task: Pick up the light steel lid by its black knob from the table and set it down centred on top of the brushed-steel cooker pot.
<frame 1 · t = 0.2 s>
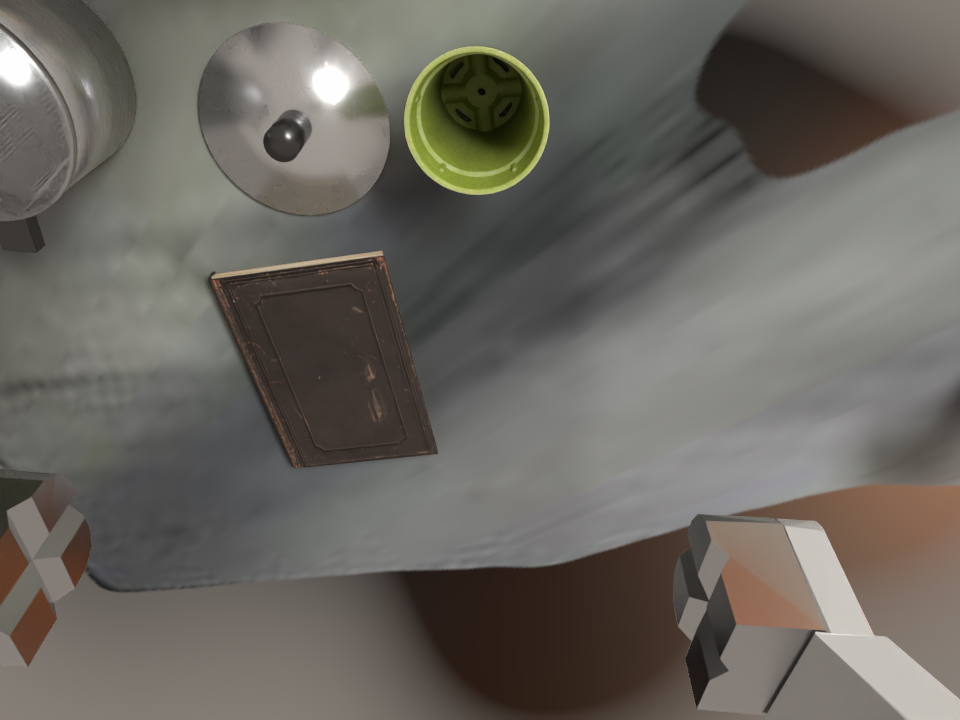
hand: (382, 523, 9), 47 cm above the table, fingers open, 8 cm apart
hardcover book: (336, 359, 68), on the table
cooker: (40, 75, 52), on the table
lid: (297, 123, 54), on the table
plant pot: (480, 87, 52), on the table
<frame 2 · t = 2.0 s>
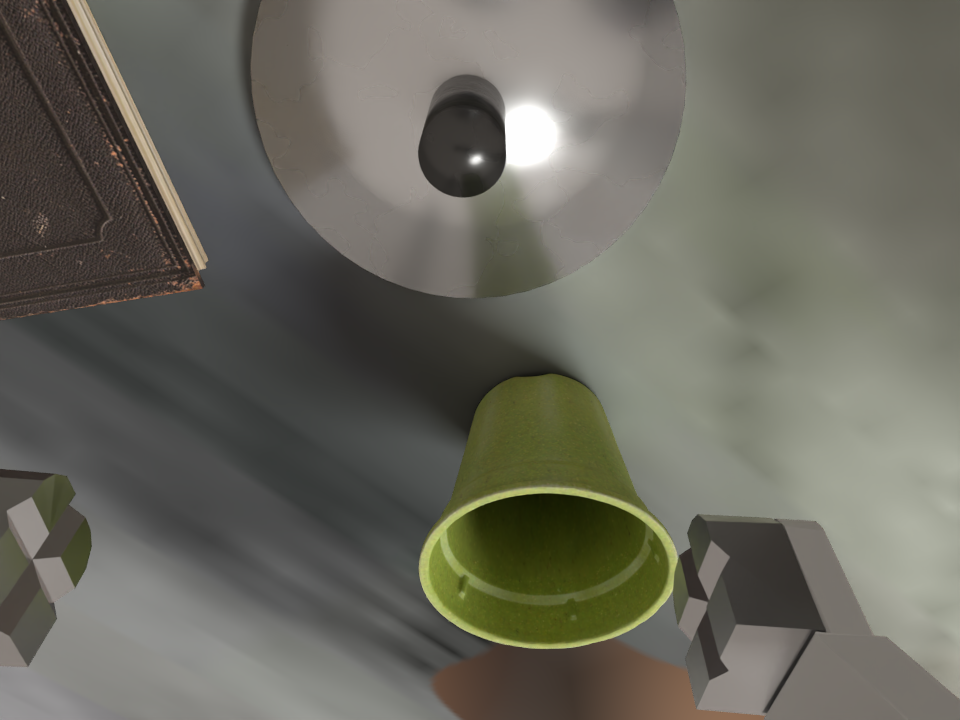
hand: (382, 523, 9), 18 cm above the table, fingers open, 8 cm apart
lid: (468, 107, 24), on the table
plant pot: (539, 418, 33), on the table
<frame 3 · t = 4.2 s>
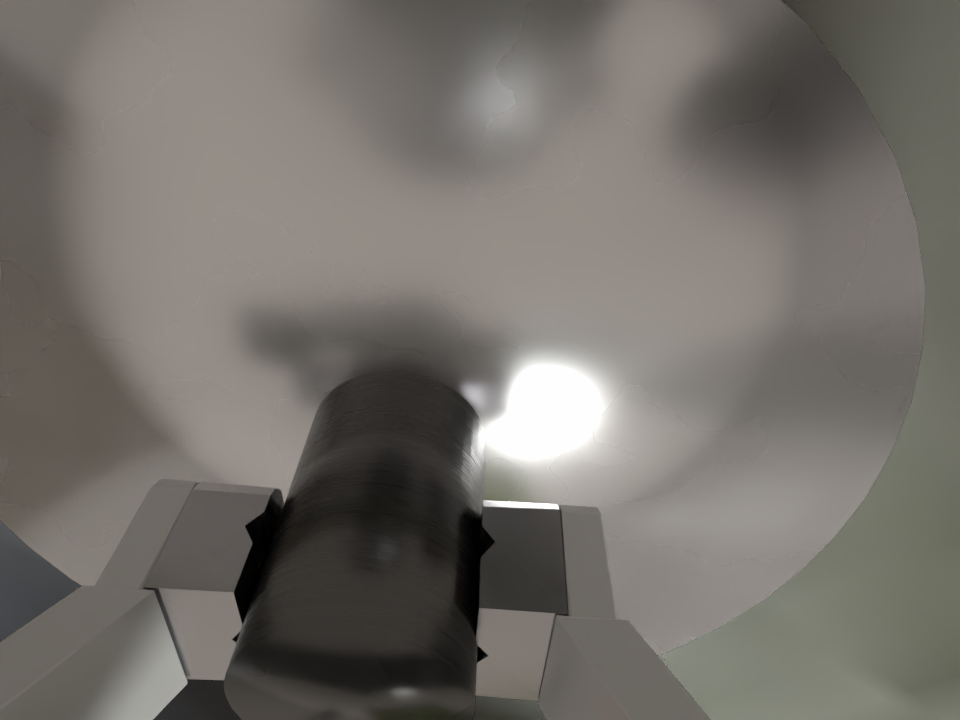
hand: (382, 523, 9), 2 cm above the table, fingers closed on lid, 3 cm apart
lid: (405, 406, 11), on the table, touching gripper
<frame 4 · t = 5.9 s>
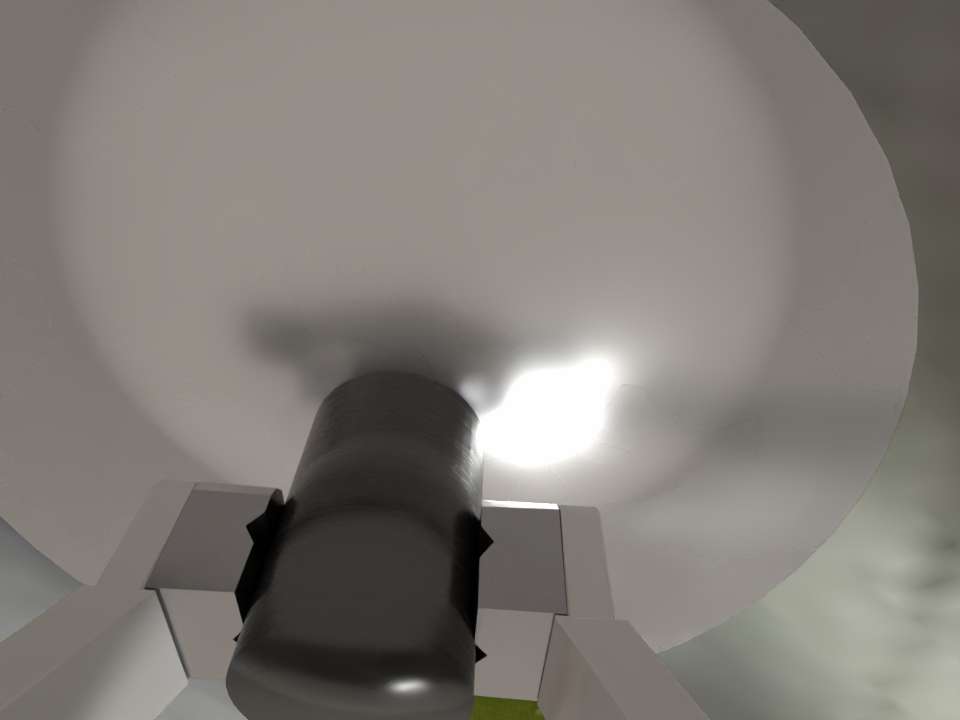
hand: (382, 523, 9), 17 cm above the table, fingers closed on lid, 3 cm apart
lid: (405, 406, 11), point 15 cm above the table, touching gripper
plant pot: (513, 516, 35), on the table
when the fingers open (13 cm above the table, at t = 7.6 s): lid stays where it is, resting on cooker.
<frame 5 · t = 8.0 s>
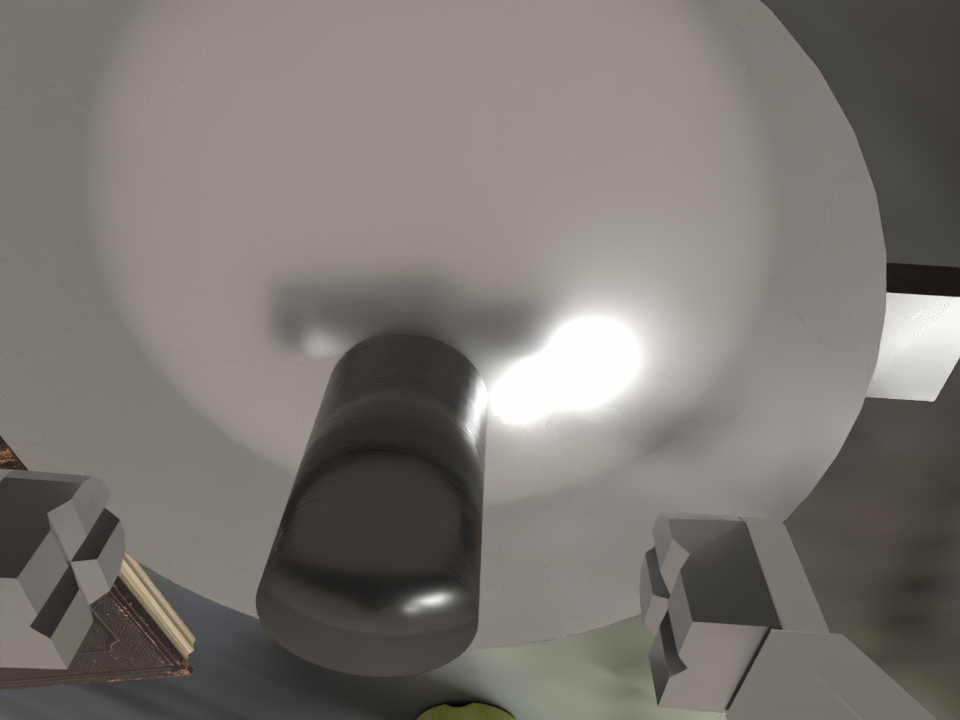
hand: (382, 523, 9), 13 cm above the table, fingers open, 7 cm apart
cooker: (450, 160, 20), on the table
lid: (413, 370, 12), point 10 cm above the table, touching cooker
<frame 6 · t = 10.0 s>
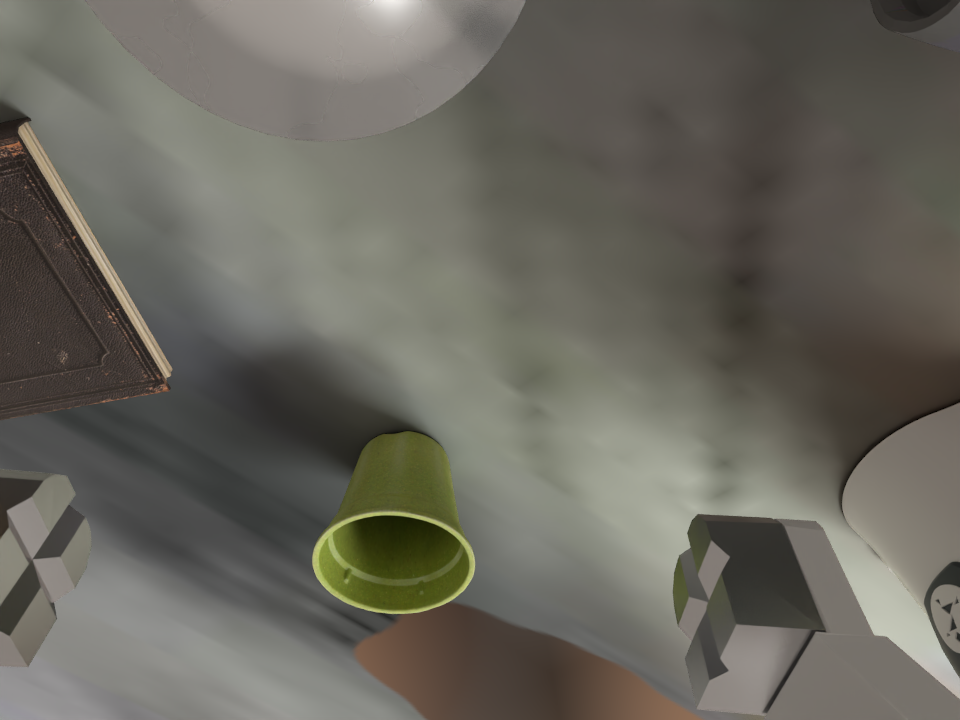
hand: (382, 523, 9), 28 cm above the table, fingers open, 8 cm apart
plant pot: (405, 459, 48), on the table
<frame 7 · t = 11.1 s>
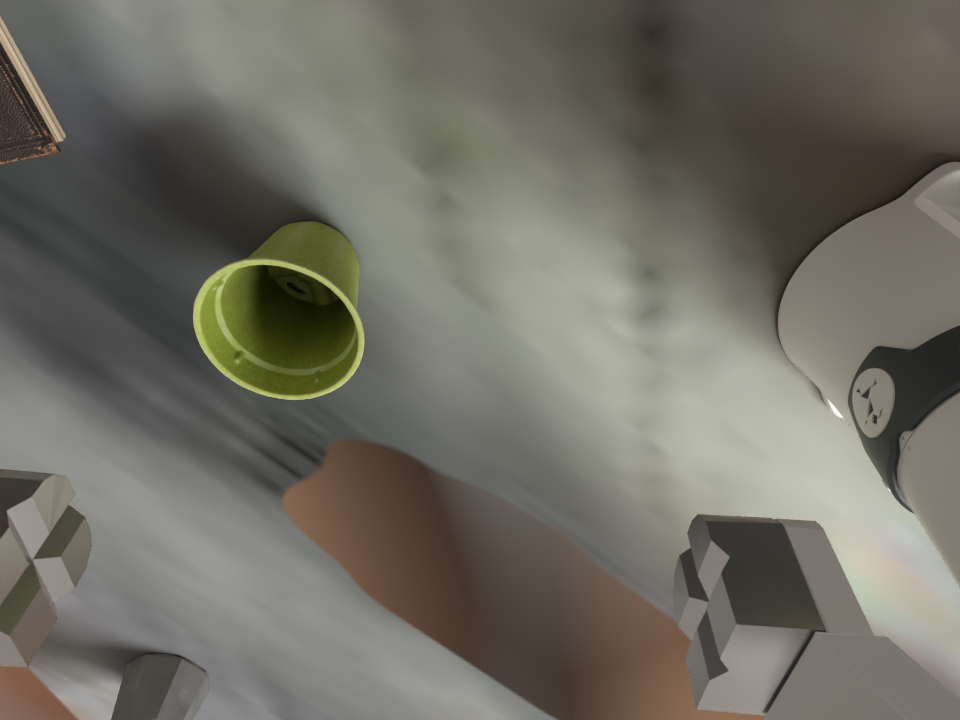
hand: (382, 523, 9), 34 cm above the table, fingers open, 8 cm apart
plant pot: (314, 259, 46), on the table
coffeepot: (167, 677, 77), on the table
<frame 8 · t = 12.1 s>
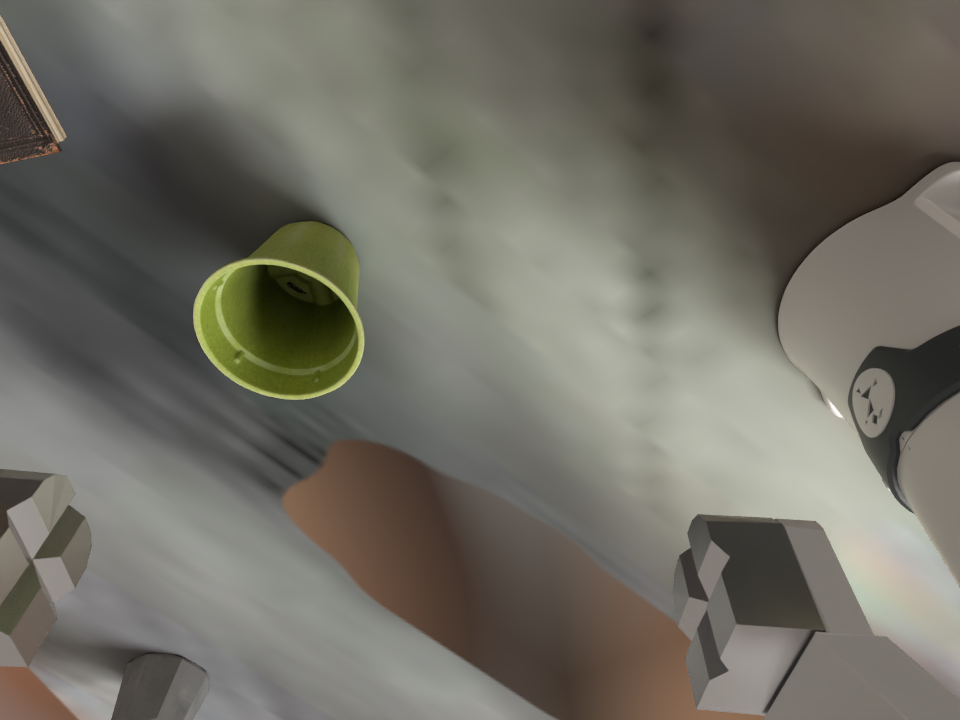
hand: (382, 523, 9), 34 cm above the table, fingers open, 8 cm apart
plant pot: (315, 259, 46), on the table
coffeepot: (167, 677, 78), on the table
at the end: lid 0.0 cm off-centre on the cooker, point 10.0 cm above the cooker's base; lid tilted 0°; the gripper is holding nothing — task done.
